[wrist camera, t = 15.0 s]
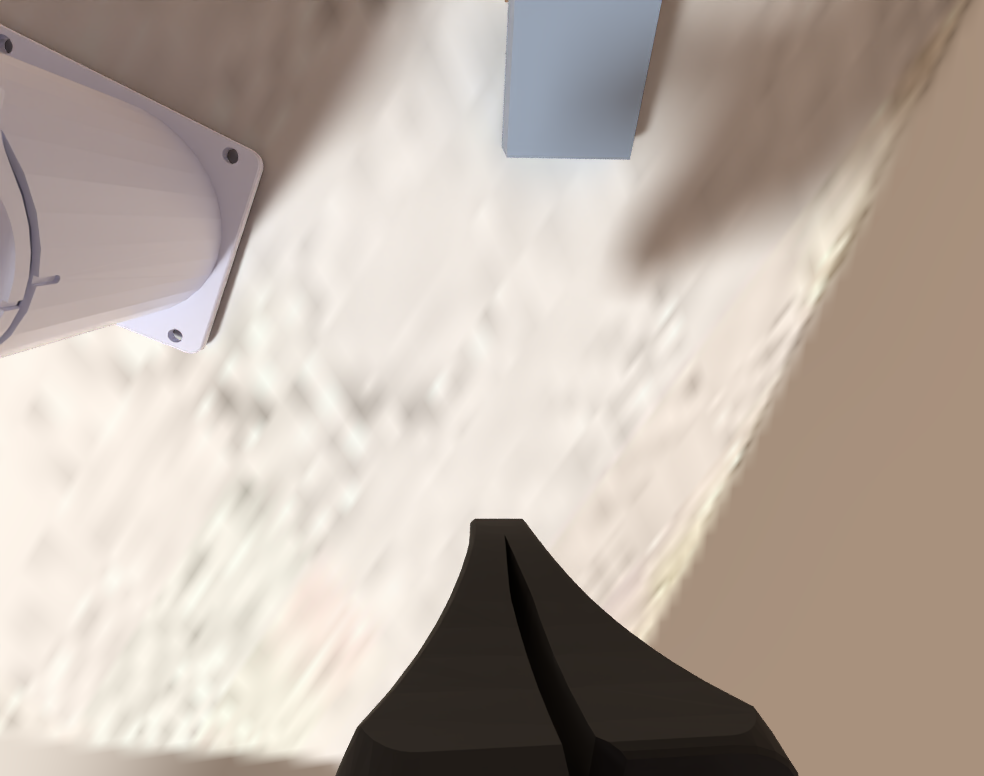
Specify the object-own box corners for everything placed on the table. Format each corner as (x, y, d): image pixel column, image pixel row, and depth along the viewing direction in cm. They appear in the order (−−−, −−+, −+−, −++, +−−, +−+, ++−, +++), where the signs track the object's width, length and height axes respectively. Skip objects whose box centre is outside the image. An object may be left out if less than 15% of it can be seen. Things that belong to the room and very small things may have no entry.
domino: (629, 159, 17) (688, -129, 12) (506, 157, 16) (522, -141, 12) (616, 148, 18) (665, -117, 14) (501, 146, 18) (514, -128, 13)
